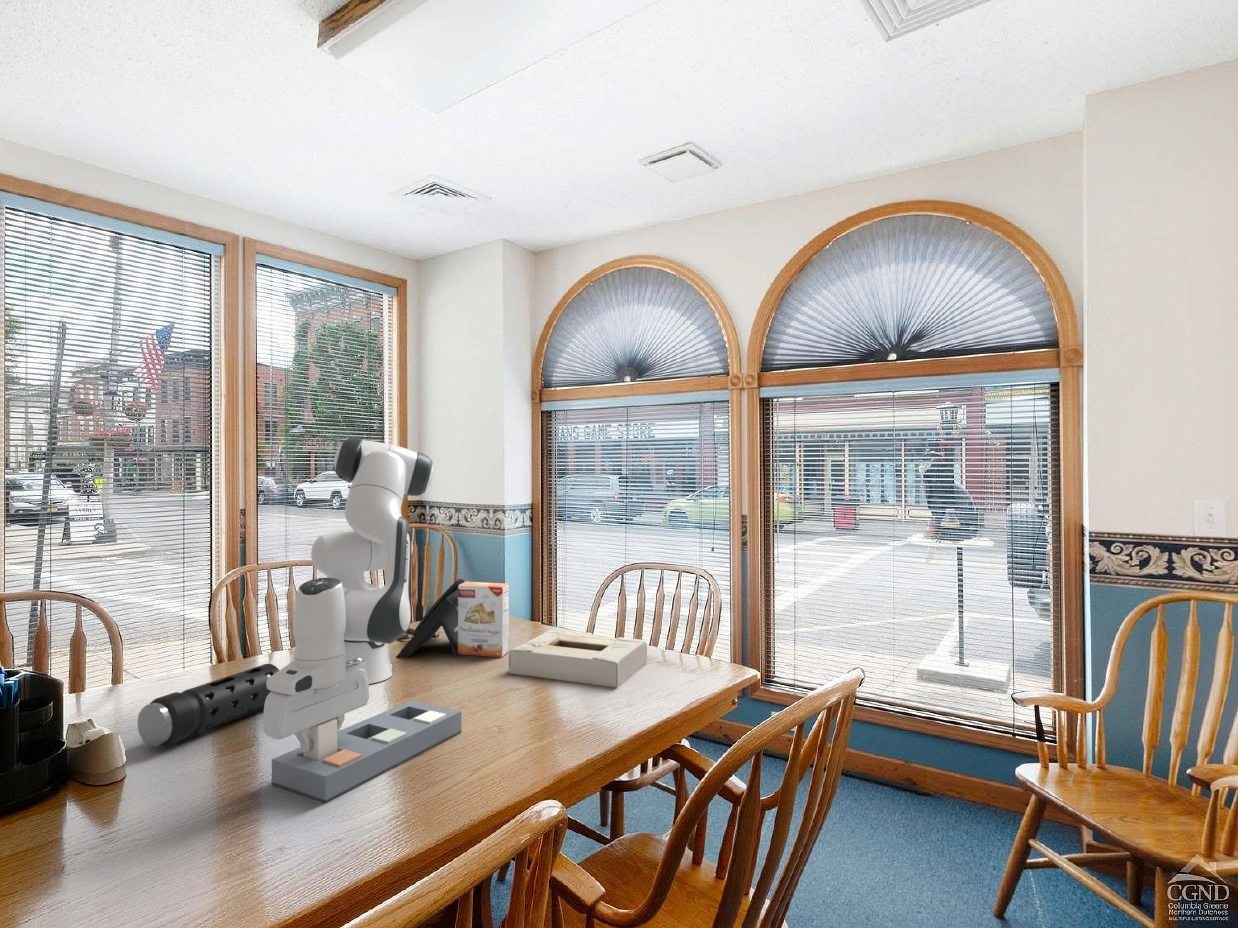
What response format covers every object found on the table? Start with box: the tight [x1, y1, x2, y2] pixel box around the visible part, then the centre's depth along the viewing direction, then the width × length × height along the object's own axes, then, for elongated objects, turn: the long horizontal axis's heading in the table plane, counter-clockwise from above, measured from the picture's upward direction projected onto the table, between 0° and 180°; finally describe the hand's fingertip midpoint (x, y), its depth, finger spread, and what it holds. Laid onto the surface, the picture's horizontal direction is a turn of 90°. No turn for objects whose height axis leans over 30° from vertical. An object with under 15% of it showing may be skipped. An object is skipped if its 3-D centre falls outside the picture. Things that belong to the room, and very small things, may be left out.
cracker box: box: [457, 581, 510, 658], centre depth 204 cm, size 14×6×21 cm, turn 79°
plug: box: [303, 719, 337, 761], centre depth 125 cm, size 4×4×8 cm
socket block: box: [271, 699, 462, 804], centre depth 134 cm, size 14×34×5 cm, turn 152°
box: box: [508, 629, 648, 689], centre depth 191 cm, size 23×8×32 cm
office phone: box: [395, 578, 466, 659], centre depth 215 cm, size 29×28×20 cm
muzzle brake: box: [137, 663, 281, 748], centre depth 148 cm, size 10×28×10 cm, turn 159°
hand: (320, 745), depth 125 cm, fingers closed on plug, 4 cm apart
